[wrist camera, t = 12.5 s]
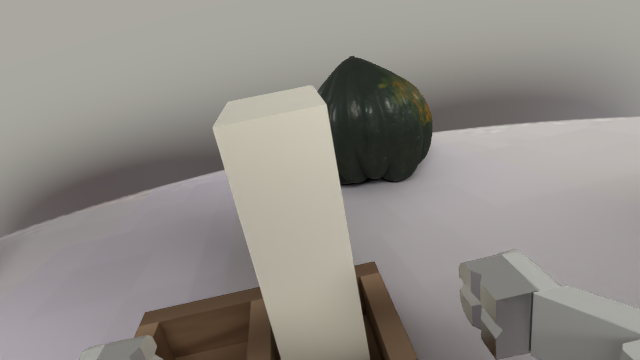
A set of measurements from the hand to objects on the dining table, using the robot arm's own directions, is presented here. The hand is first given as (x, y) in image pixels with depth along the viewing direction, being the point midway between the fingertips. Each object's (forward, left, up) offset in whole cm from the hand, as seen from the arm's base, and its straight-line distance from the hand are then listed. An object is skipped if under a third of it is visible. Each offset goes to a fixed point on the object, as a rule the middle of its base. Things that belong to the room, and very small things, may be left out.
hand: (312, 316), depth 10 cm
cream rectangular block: (-7, +4, -11) cm, 13 cm away
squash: (-26, +26, -12) cm, 39 cm away
